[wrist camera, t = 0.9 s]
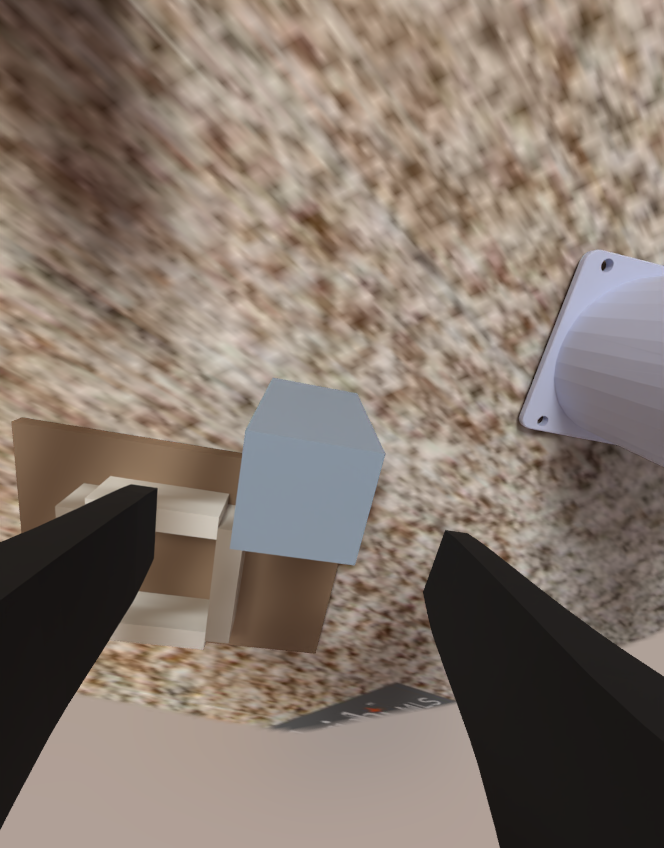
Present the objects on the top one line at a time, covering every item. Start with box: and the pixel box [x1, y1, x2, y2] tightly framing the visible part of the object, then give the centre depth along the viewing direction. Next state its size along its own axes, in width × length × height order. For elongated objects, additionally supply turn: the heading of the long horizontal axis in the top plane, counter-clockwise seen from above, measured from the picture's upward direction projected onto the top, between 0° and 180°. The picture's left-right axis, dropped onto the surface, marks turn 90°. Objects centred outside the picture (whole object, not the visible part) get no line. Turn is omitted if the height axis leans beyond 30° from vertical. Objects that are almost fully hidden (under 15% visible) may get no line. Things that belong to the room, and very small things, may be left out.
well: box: [12, 418, 338, 653], centre depth 18 cm, size 16×12×3 cm
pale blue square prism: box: [230, 378, 385, 565], centre depth 14 cm, size 4×4×7 cm
